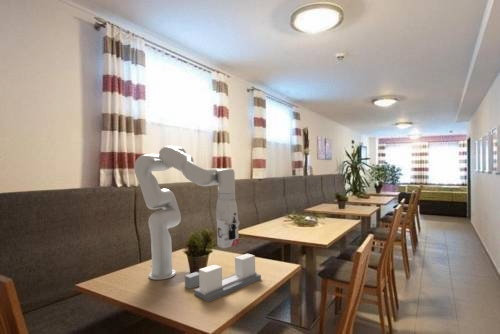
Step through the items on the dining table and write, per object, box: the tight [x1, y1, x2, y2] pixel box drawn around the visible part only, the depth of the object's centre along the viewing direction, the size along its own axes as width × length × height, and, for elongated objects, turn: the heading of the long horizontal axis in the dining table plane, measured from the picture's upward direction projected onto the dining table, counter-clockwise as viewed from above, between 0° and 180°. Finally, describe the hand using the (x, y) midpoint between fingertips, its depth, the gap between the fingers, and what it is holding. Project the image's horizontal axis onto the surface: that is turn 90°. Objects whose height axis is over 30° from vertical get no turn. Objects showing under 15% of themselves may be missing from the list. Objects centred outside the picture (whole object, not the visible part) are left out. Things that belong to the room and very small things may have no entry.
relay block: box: [184, 271, 199, 290], centre depth 133 cm, size 4×6×5 cm, turn 135°
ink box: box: [216, 219, 240, 249], centre depth 131 cm, size 9×5×12 cm, turn 130°
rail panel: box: [193, 253, 262, 303], centre depth 131 cm, size 10×30×11 cm, turn 135°
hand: (227, 237), depth 131 cm, fingers closed on ink box, 5 cm apart
